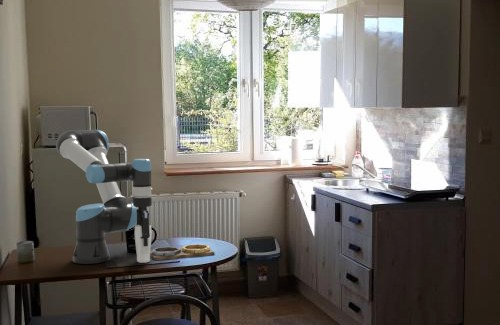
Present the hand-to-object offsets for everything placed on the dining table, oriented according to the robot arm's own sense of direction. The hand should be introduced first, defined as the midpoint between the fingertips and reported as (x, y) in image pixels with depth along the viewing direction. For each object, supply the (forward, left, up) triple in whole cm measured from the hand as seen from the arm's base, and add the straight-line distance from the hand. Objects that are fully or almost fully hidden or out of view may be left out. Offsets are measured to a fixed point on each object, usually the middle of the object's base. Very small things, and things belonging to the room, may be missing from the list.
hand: (143, 251), depth 240 cm
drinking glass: (0, 0, -4) cm, 4 cm away
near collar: (+6, +12, -3) cm, 14 cm away
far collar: (+18, +18, -3) cm, 26 cm away
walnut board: (+12, +15, -4) cm, 20 cm away
